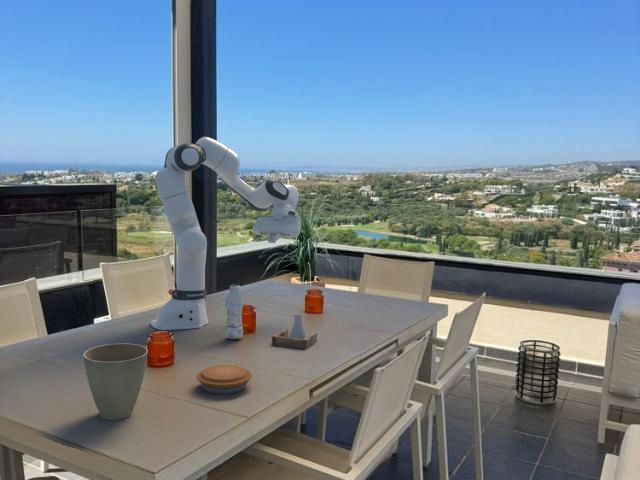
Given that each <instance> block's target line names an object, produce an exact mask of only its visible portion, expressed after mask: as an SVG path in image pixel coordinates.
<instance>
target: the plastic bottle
mask: <svg viewBox="0 0 640 480" xmlns="http://www.w3.org/2000/svg"><path fill="white" fill-rule="evenodd" d="M240 291H241V285H240V284H230V285H229V293H228V294H227V295H226V297H225V306H226V324H225V325H226V326H225V332H224V334H225V335H224V336H225V337H226V338H227V339H229V340H239V339H242V338H243V336H244V329H243V320H242V319H243V317H242V314H243V305H244V297H243V295H242V294H241V293H240Z"/></svg>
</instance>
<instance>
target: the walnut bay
mask: <svg viewBox="0 0 640 480" xmlns="http://www.w3.org/2000/svg"><path fill="white" fill-rule="evenodd" d="M317 335H318V333H317V332H311V333H310V334H309V335H307V336H306V338H304V339H298V338H290V337H289V329H286V328H284V329H282V330H280V331H279V332H277V333H275V334H274V335H272V336H271V345H273V346H280V347H286V348H295V349H302V350H306V349H308V348H309V347H311V346H312V345H313V344H315V343H316V342H317V340H318V339H317Z"/></svg>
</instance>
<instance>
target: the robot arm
mask: <svg viewBox="0 0 640 480" xmlns="http://www.w3.org/2000/svg"><path fill="white" fill-rule="evenodd" d="M240 163H241V162H240V157H239V156H238V154H237V153H236V152H235V151H234V150H232V149H231V148H229V147H228V146H226V145H225V144H223V143H222V142H220V141H218V140H216V139H213V138H211V137H208V136H202V137H200V138H199V139H198V140H197V141H196V142H195V143H181V144H180V143H179V144H176V145H175V146H173V147H171V148H170V149H168V151H167V152H166V155H165V161H164V165H163V168H161V169H159V170H158V171H157V172H156V173H155V183H156V188H157V192H158V196H159V199H160V201H161V204H162V207H163V210H164V212H165V216H166V218H167V220H168V224H169V225H170V228H171V231H172V235H173V237H174V240H175V243H176V245H177V262H176V263H177V264H176V288H175V289H174V290H173V289H172V288H171V289H170V288H169V289H168V290H167V293H168V294H169V295H171V298H170V299H169V300H168V301H167V302H166V303H164V304H163V305H162V306H160V307H159V308H158V310H157V313H156V314H157V315H156V319H154V320H151V322H150V325H151V327H152V328H153V329H156V330H159V331H172V330H173V331H174V330H176V331H177V330H188V329H189V330H190V329H191V330H192V329H200V328H202V327H203V326H205V325H207V324H209V320H208V319H209V318H208V315H207V310H206V300H207V289H206V287H205V286H206V283H205V282H206V279H205V278H206V261H207V251H208V250H207V249H208V248H207V247H208V241H207V240H208V239H207V236H206V234H205V233H204V232H203V231H202V228H201V226H200V223H199V220H198V217H197V213H196V210H195V206H194V203H193V201H192V198H191V195H190V192H189V189H188V187H187V185H186V181H185V176H186V174H187V173H190V172H193V171H195V170H197V169H198V168H199V167H200V166H201V165H204V166H207V167H208V168H209V169H211V170H212V171H214V172H215V173H217V174H218V175H219V177H220V179H221V182H223V184H225V186H227V187H228V188H229V189H230V190H232V191H233V192H234V193H235V194H237V195H238V196H239V197H240V198H241V199H243V200H244V201H245V202H246V203H247V204H248V205H249V206H250V208H251V209H253V210H254V211H256V212H260V213H261V212H265V211H266V210H268V209H269V208H270V207H271V206H273V208H272V211H271V213H270V215H261V216H260V217H259V216H258V217H257V219H256V221H255V222H254V224H253V226H252V231H253V233H254V234H255V235H259V236H268V238H267V243H269V244H276V242H277V241H278V240H279V239H281V237H288V238H298V237H299V235H300V233H301V228H302V226H301V225H302V220H301V217H300V215H299V212H297V211H295V210H296V209H297V205H298V202H299V198H300V195H299V194H300V193H299V190H298V188H297V187H296V186H294V185H292V184H289V183H288V184H285V183H282V182H281V181H280V180H278V179H276V178H268V179H266V181H264V182H262V183H261V184H260V185H259V186H257V187H252V186H250V185H249V184H248V183H246V182H245V181H244V180H243V179H242V178H241V177H240V176H239V174H238V171H239V169H240Z"/></svg>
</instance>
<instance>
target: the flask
mask: <svg viewBox="0 0 640 480" xmlns="http://www.w3.org/2000/svg"><path fill="white" fill-rule="evenodd" d="M293 316H294V320H293V325H292V327H291V330H290V333H289V334H288V337H290V338H298V339H304V338H306V337H307V336H306V334H305V333H306V332H305V330H304V326H303V320H302V319H303V314H302V313H294V314H293Z"/></svg>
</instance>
